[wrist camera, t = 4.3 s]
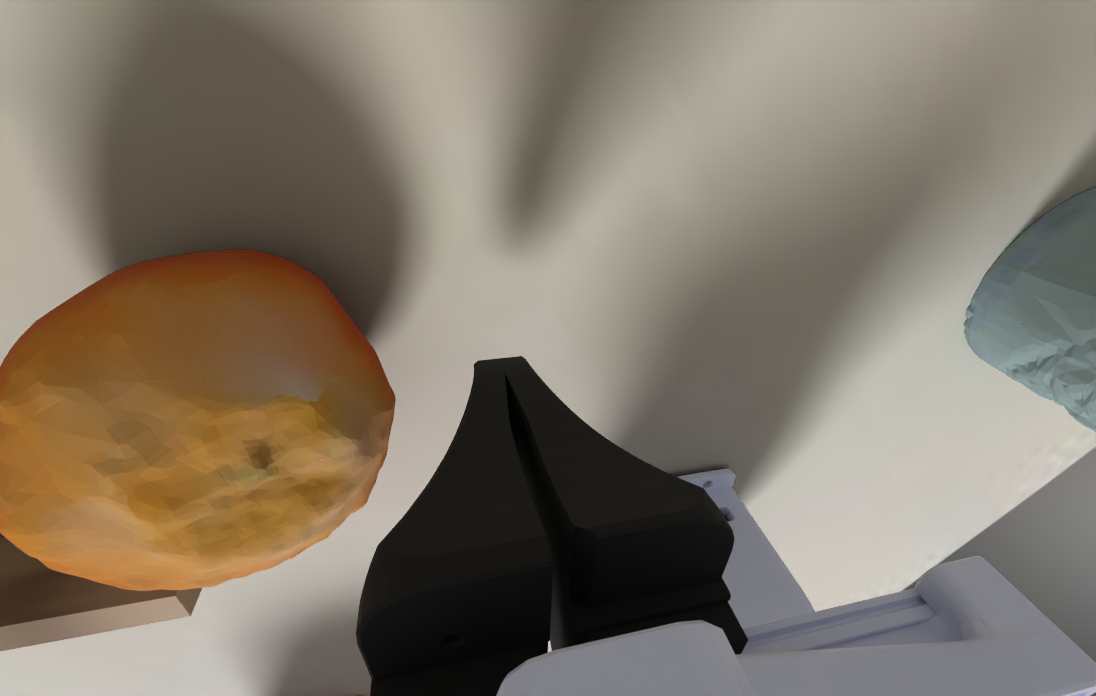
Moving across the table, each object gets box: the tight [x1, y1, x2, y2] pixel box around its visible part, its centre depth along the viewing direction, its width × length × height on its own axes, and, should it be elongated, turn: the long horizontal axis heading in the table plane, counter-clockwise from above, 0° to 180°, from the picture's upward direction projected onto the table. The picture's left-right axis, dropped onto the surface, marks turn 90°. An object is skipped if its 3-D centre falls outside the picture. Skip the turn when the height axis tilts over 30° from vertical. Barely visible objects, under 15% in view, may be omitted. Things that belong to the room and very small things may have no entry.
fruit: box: [0, 249, 395, 591], centre depth 12 cm, size 8×8×8 cm
